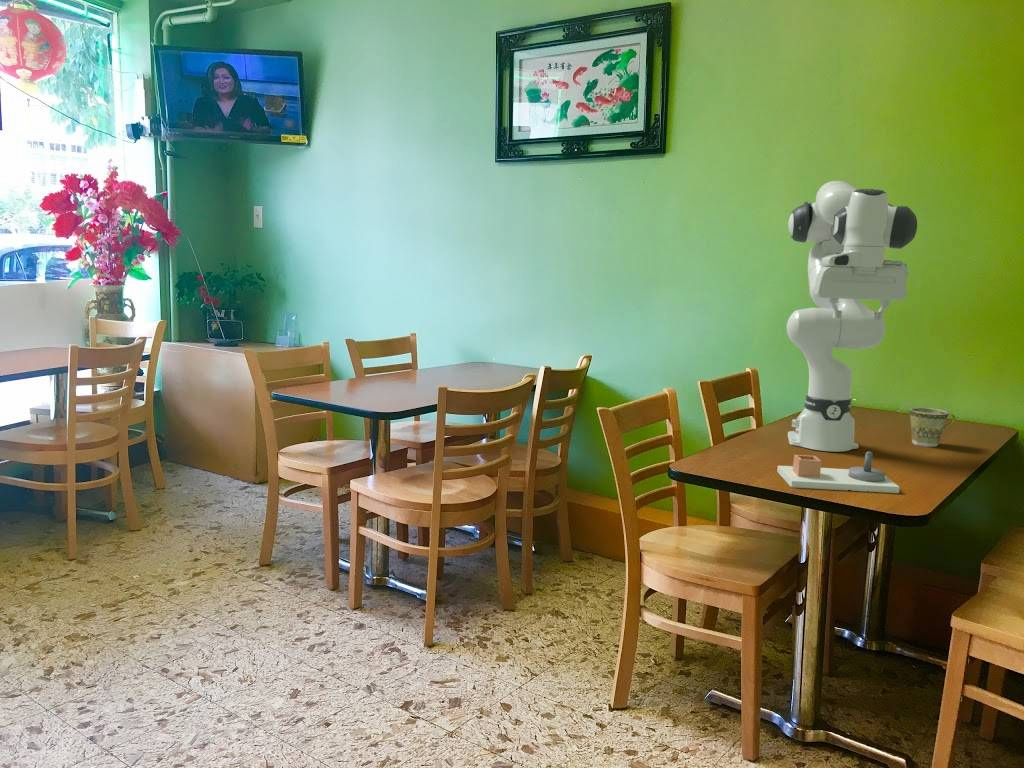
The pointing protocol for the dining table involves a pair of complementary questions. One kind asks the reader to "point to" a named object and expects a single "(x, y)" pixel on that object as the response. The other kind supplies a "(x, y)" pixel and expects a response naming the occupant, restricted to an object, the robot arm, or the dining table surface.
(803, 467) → the collar
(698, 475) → the dining table surface
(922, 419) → the ceramic cup
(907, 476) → the dining table surface
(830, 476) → the board
